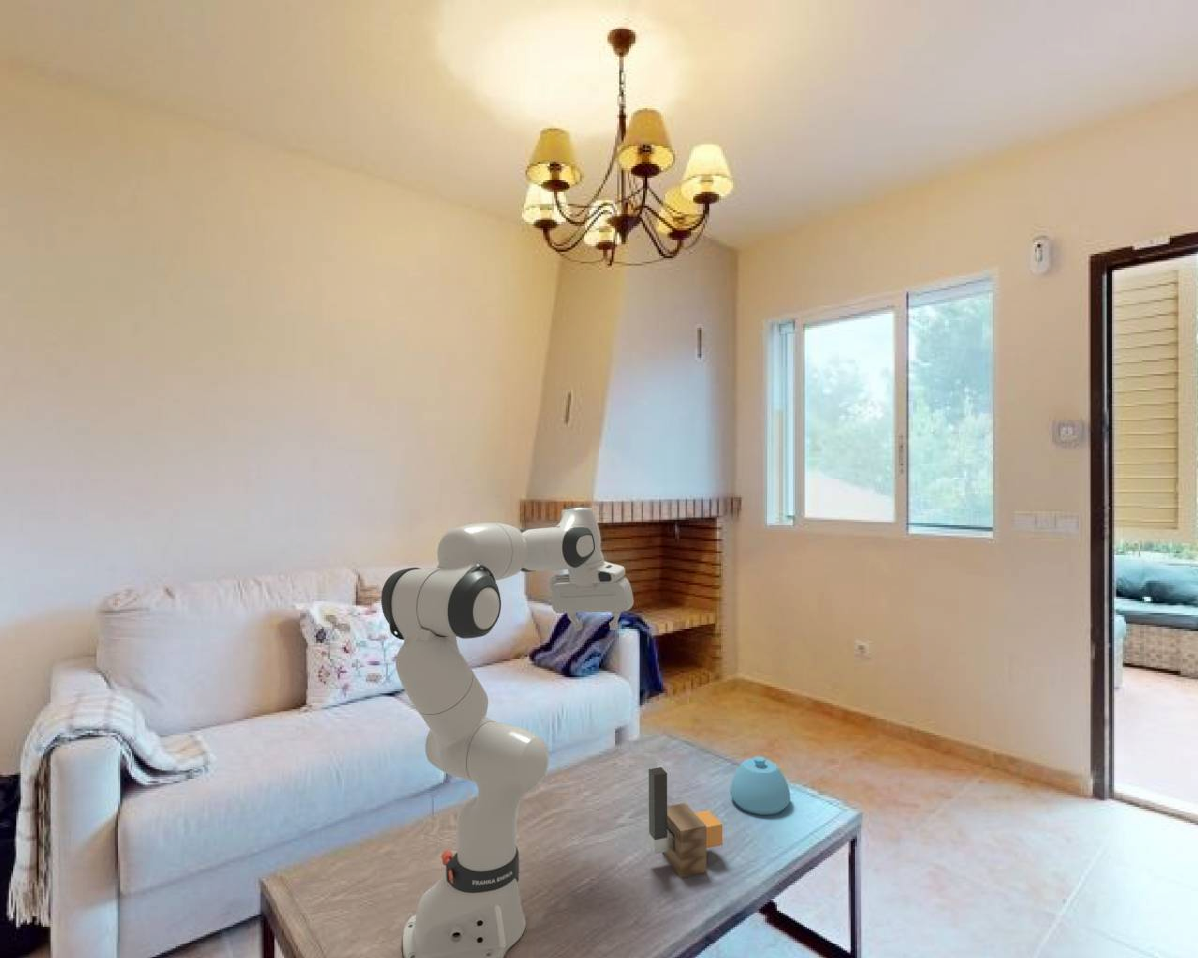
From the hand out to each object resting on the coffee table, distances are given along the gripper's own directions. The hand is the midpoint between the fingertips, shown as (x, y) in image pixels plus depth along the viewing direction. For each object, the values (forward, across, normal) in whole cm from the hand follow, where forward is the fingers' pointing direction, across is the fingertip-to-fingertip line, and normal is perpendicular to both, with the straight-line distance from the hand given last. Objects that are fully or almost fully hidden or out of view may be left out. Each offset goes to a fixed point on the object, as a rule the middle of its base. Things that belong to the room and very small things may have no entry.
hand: (596, 629), depth 153 cm
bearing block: (+50, +17, -9) cm, 53 cm away
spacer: (+47, +22, -5) cm, 52 cm away
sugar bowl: (+55, +27, +23) cm, 66 cm away
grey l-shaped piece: (+46, +18, -8) cm, 50 cm away
